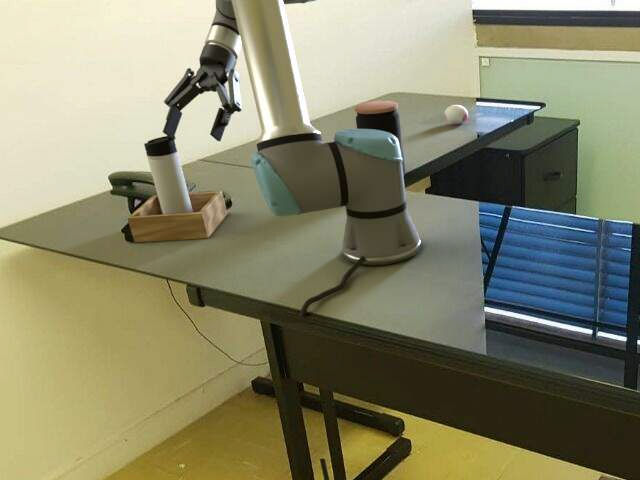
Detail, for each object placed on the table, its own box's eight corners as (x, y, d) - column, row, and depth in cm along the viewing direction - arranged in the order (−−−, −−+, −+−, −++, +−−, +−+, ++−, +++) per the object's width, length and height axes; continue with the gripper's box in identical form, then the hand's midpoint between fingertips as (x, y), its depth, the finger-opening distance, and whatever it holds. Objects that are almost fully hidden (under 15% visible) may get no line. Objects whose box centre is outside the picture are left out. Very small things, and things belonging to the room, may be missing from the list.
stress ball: (470, 132, 252) (472, 112, 252) (464, 123, 244) (466, 102, 244) (447, 131, 253) (450, 111, 254) (440, 122, 246) (443, 101, 246)
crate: (208, 238, 169) (201, 213, 166) (134, 242, 169) (127, 218, 166) (227, 214, 183) (222, 190, 180) (159, 218, 183) (152, 195, 180)
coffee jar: (399, 184, 195) (390, 109, 186) (358, 184, 197) (347, 110, 188) (411, 172, 204) (403, 100, 194) (371, 172, 206) (362, 101, 197)
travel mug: (192, 231, 173) (168, 139, 163) (163, 233, 173) (137, 141, 163) (201, 222, 179) (179, 132, 168) (173, 224, 179) (148, 134, 169)
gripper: (274, 63, 177) (246, 148, 173) (189, 63, 186) (160, 143, 182) (255, 41, 170) (224, 129, 166) (167, 42, 179) (137, 125, 175)
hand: (191, 136), depth 174 cm, fingers open, 13 cm apart
